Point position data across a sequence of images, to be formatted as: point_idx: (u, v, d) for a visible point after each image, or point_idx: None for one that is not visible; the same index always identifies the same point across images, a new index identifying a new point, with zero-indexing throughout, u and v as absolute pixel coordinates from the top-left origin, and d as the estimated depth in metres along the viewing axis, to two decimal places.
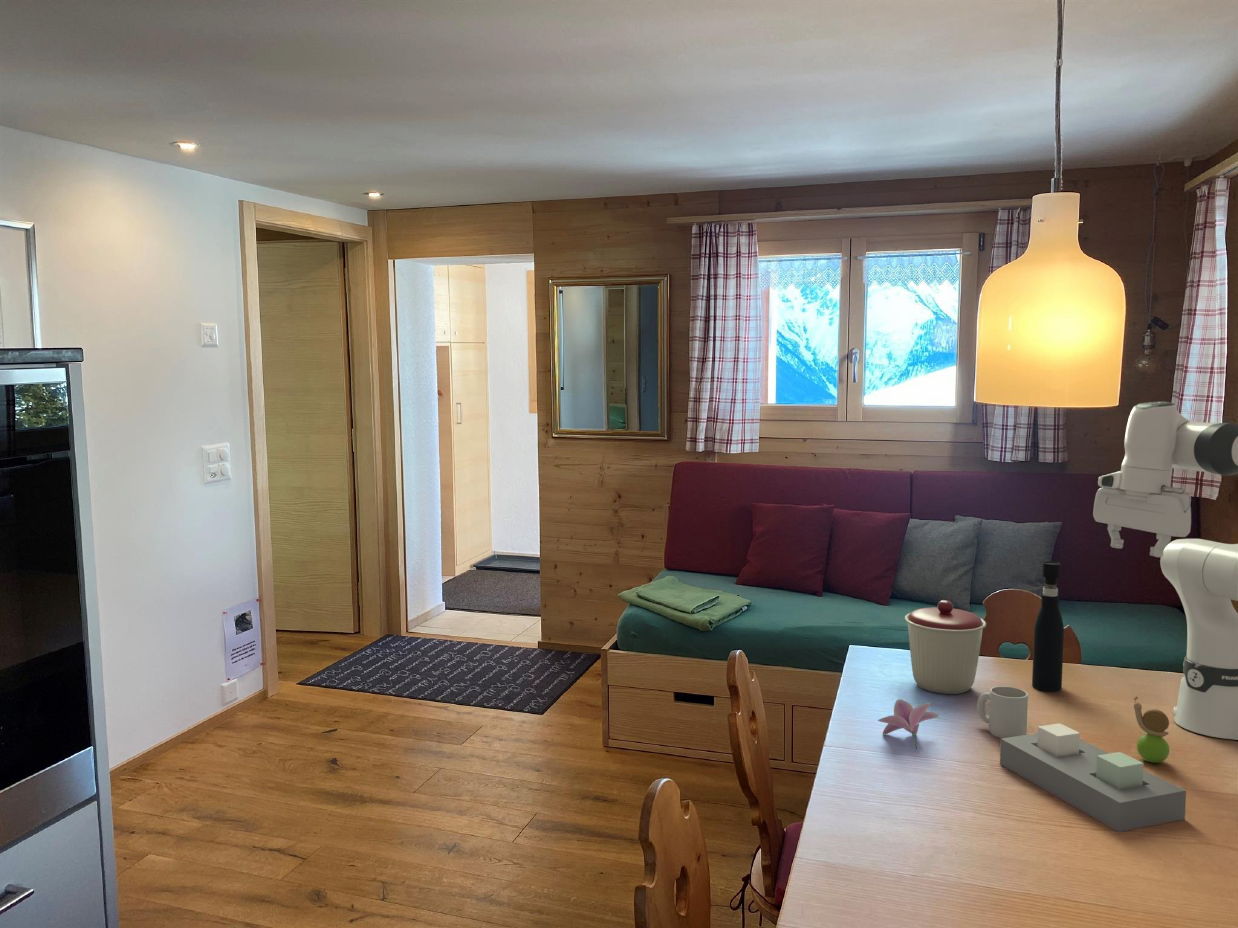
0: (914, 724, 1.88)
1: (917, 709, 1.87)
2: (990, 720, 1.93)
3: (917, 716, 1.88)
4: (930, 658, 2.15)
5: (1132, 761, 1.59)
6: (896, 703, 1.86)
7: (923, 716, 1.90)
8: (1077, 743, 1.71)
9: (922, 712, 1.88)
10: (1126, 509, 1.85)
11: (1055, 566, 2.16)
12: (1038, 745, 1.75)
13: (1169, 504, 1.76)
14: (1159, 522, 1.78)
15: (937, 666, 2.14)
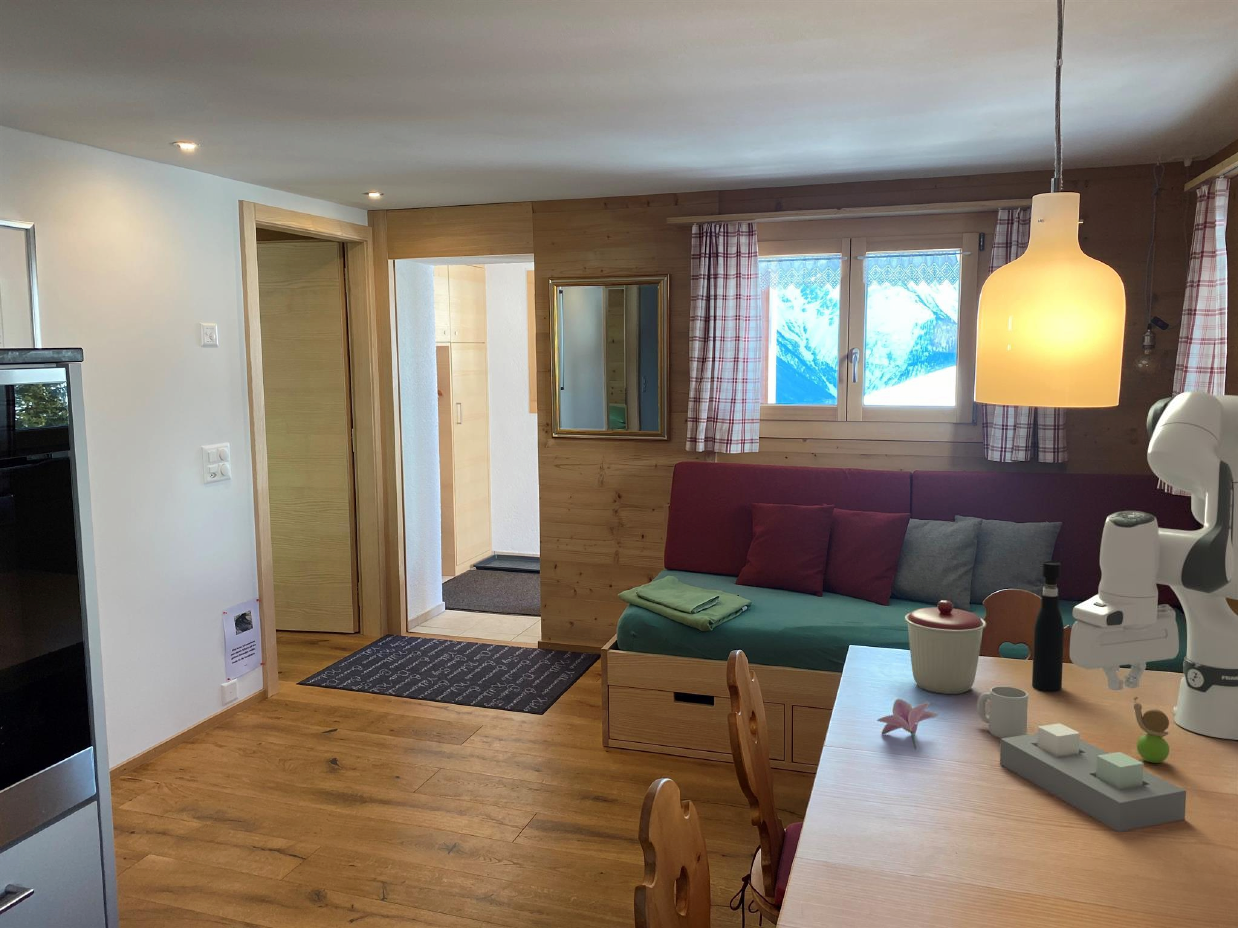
0: (913, 724, 1.88)
1: (916, 709, 1.87)
2: (990, 720, 1.93)
3: (916, 716, 1.88)
4: (930, 658, 2.15)
5: (1132, 761, 1.59)
6: (895, 703, 1.86)
7: (922, 716, 1.90)
8: (1077, 743, 1.71)
9: (921, 712, 1.88)
10: (1125, 645, 1.55)
11: (1055, 566, 2.16)
12: (1038, 745, 1.75)
13: (1171, 626, 1.58)
14: (1162, 648, 1.58)
15: (937, 666, 2.14)
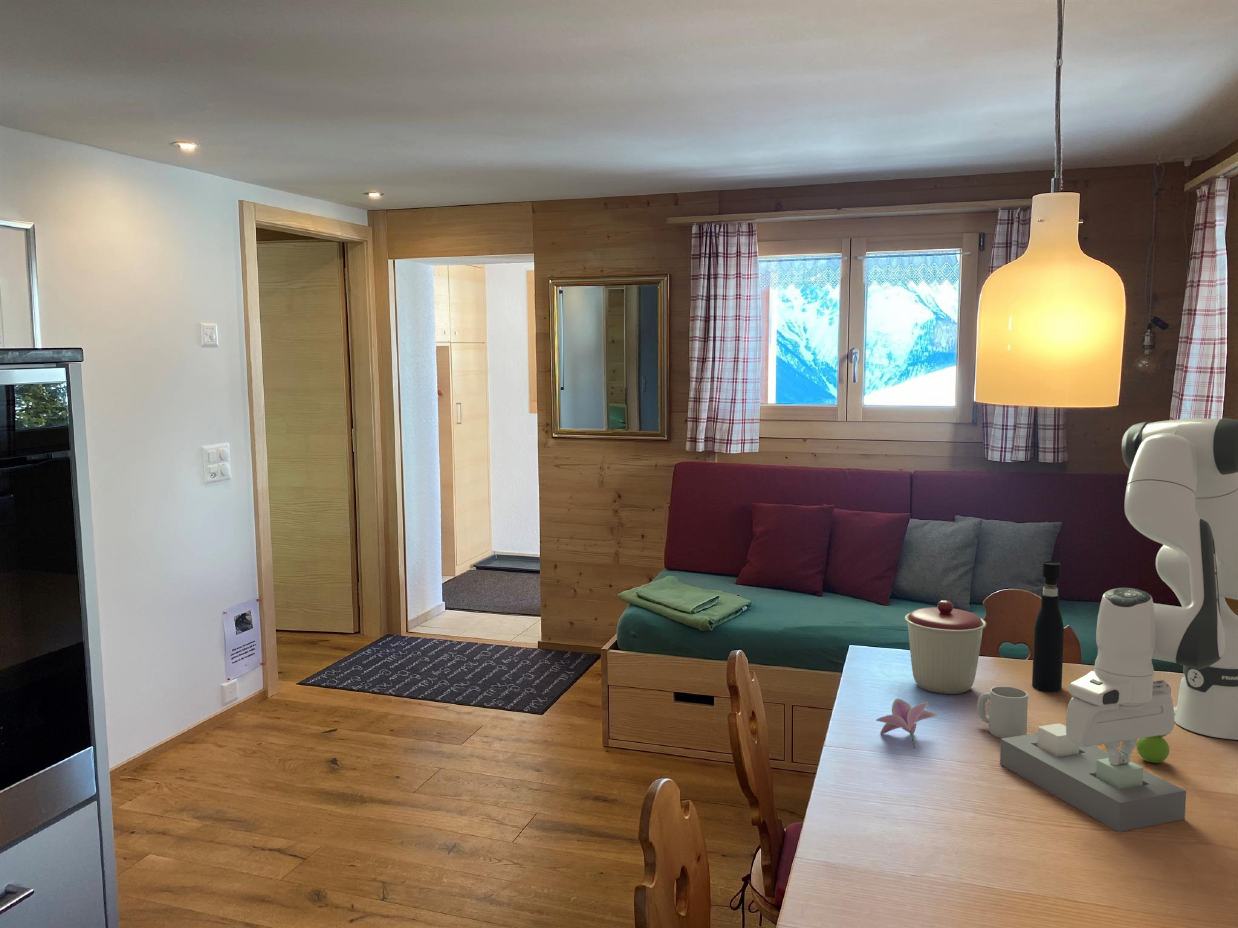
0: (912, 723, 1.88)
1: (915, 708, 1.87)
2: (990, 720, 1.93)
3: (915, 715, 1.88)
4: (930, 658, 2.15)
5: (1131, 765, 1.59)
6: (894, 703, 1.87)
7: (921, 716, 1.90)
8: None
9: (920, 712, 1.88)
10: (1121, 722, 1.57)
11: (1055, 566, 2.16)
12: (1038, 745, 1.75)
13: (1166, 702, 1.59)
14: (1157, 724, 1.59)
15: (937, 666, 2.14)
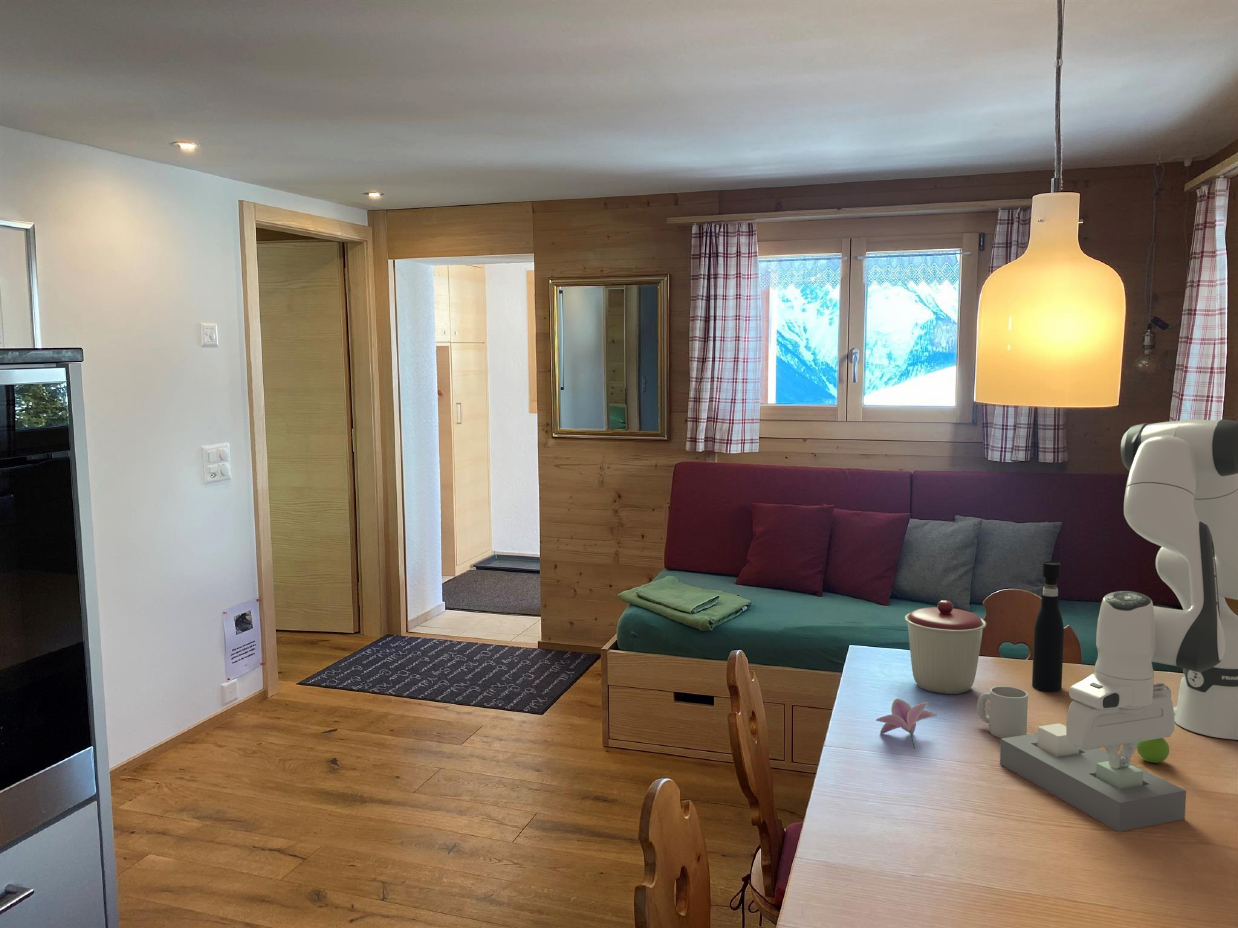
0: (912, 723, 1.88)
1: (914, 708, 1.88)
2: (990, 720, 1.93)
3: (915, 715, 1.88)
4: (930, 658, 2.15)
5: (1131, 768, 1.59)
6: (894, 702, 1.87)
7: (920, 716, 1.90)
8: None
9: (920, 712, 1.88)
10: (1121, 725, 1.57)
11: (1055, 566, 2.16)
12: (1038, 745, 1.75)
13: (1166, 705, 1.59)
14: (1158, 727, 1.59)
15: (937, 666, 2.14)
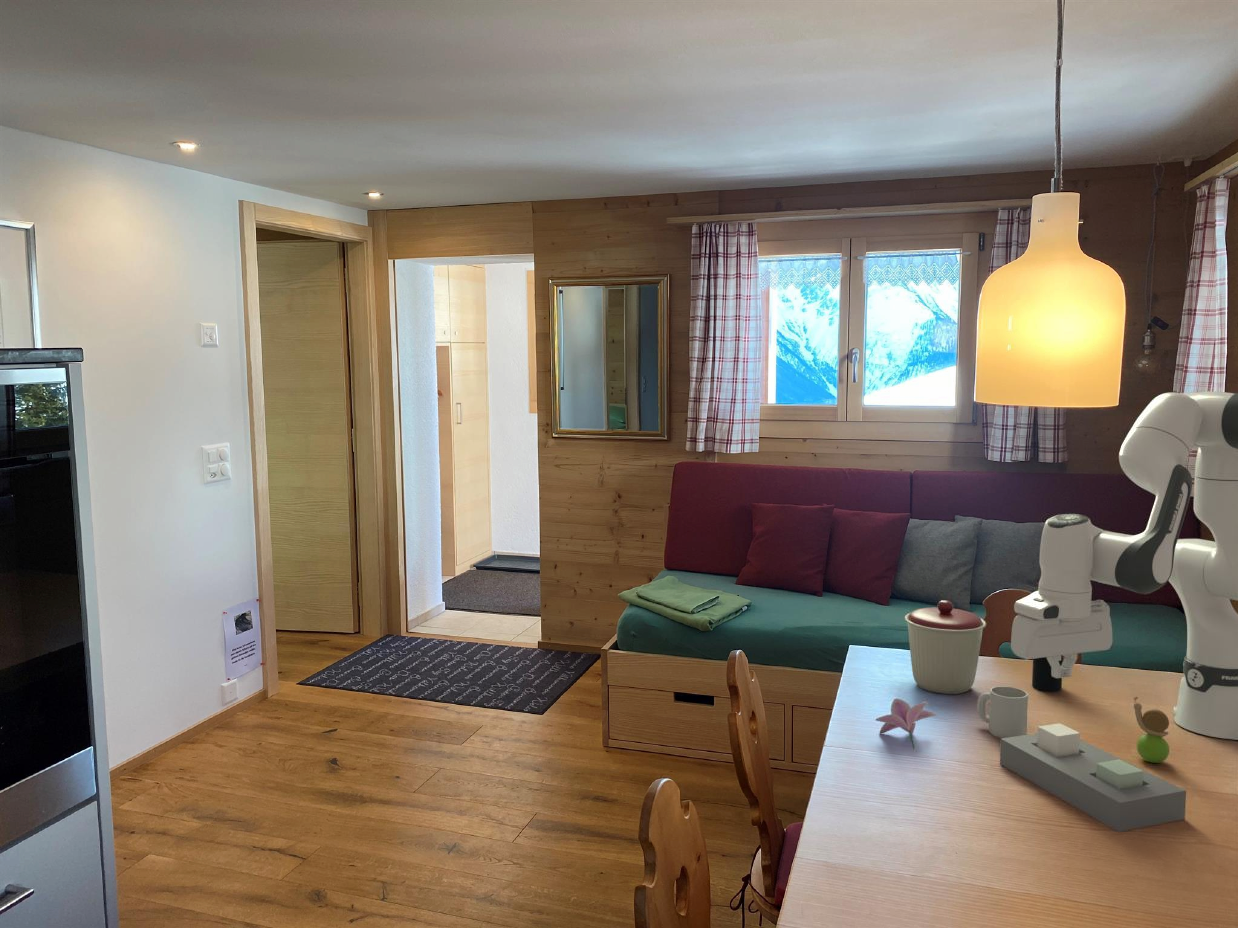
0: (911, 723, 1.88)
1: (914, 708, 1.88)
2: (990, 720, 1.93)
3: (914, 715, 1.88)
4: (930, 658, 2.15)
5: (1131, 768, 1.59)
6: (893, 702, 1.87)
7: (920, 715, 1.90)
8: (1077, 743, 1.71)
9: (919, 711, 1.89)
10: (1062, 637, 1.69)
11: None
12: (1038, 745, 1.75)
13: (1104, 620, 1.71)
14: (1096, 640, 1.71)
15: (937, 666, 2.14)
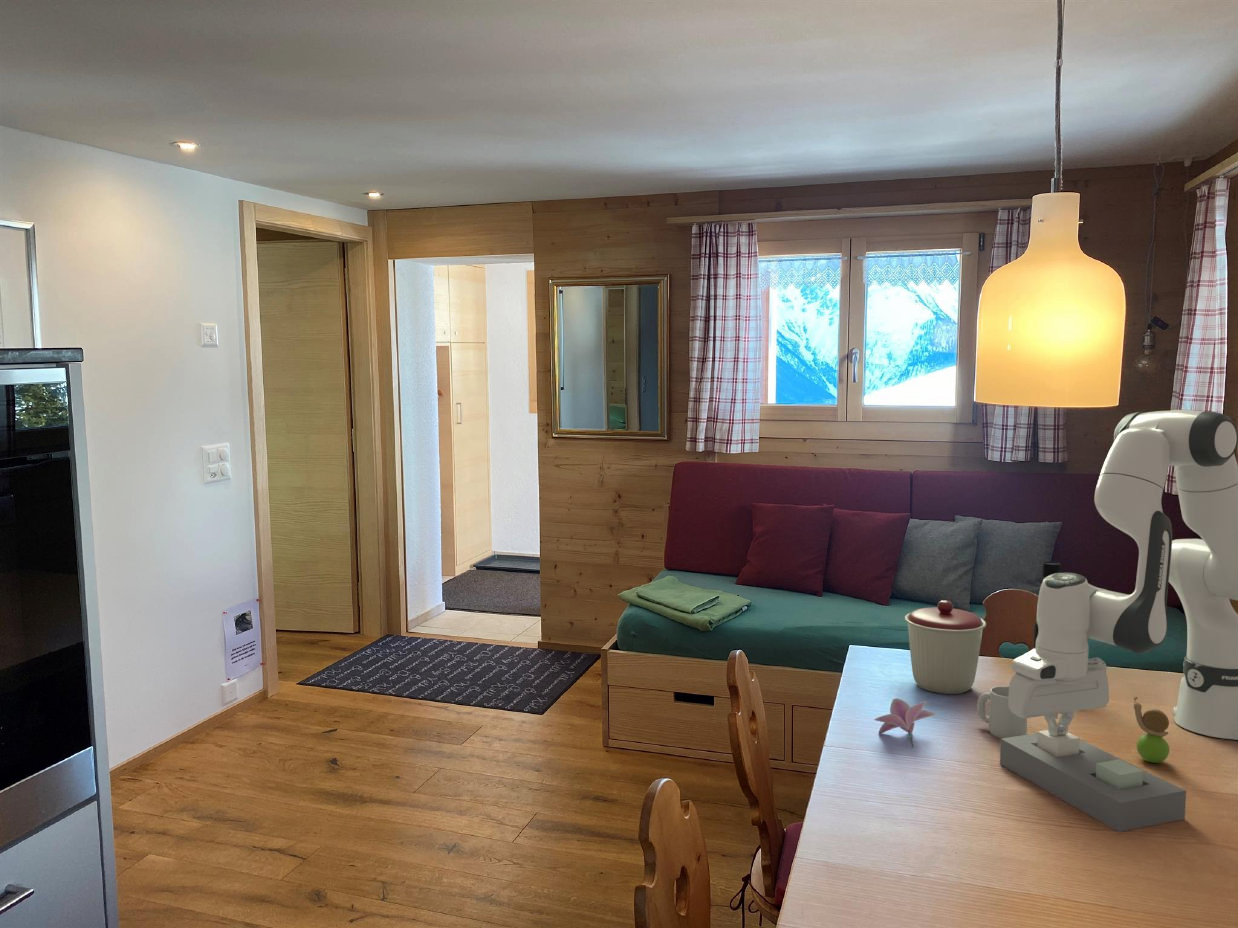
0: (910, 723, 1.88)
1: (913, 708, 1.88)
2: (990, 720, 1.93)
3: (913, 715, 1.88)
4: (930, 658, 2.15)
5: (1131, 768, 1.59)
6: (893, 702, 1.87)
7: (919, 715, 1.91)
8: (1077, 748, 1.71)
9: (918, 711, 1.89)
10: (1059, 696, 1.70)
11: (1055, 566, 2.16)
12: None
13: (1101, 678, 1.73)
14: (1093, 698, 1.72)
15: (937, 666, 2.14)
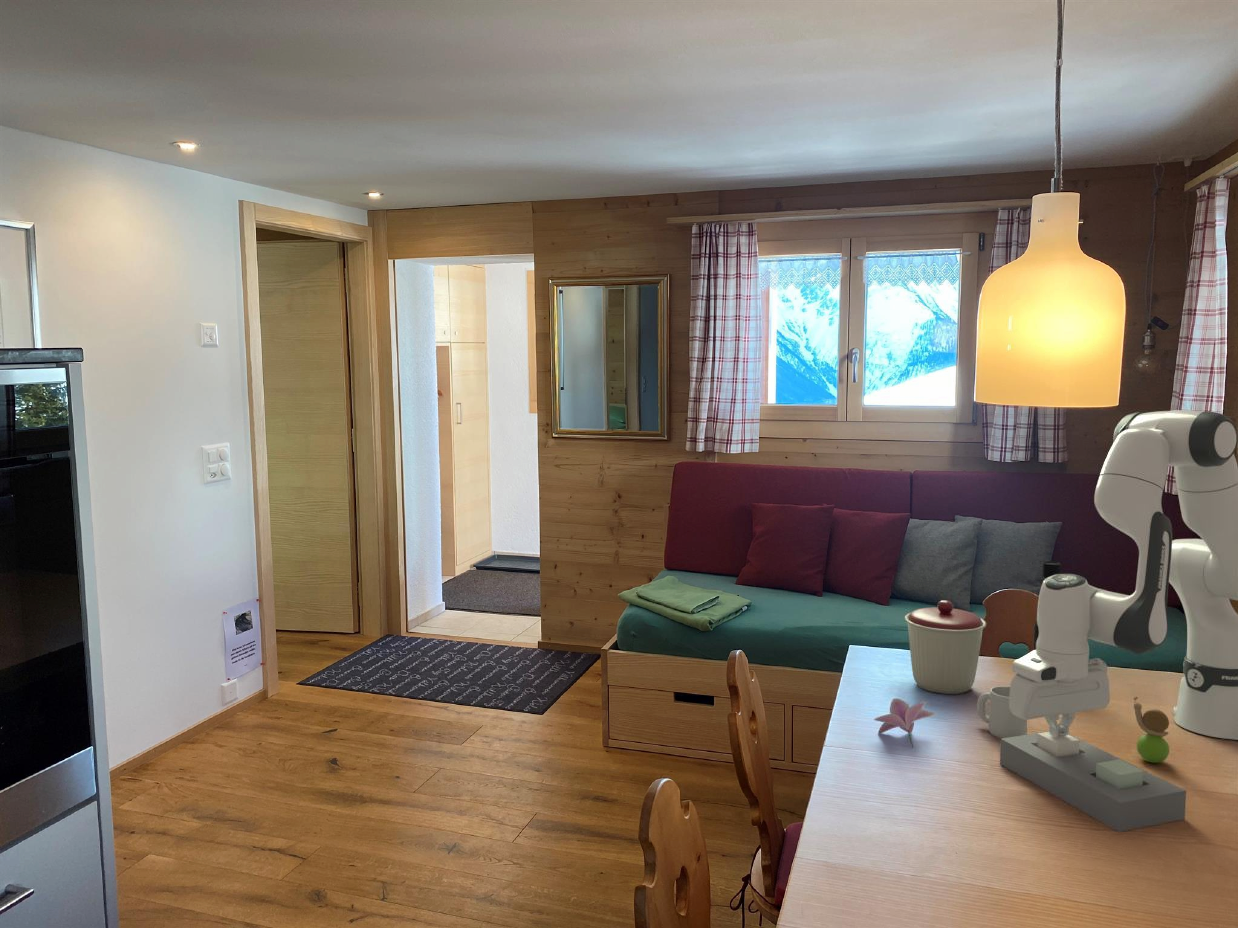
0: (910, 723, 1.88)
1: (913, 708, 1.88)
2: (990, 720, 1.93)
3: (913, 715, 1.89)
4: (930, 658, 2.15)
5: (1131, 768, 1.59)
6: (892, 702, 1.87)
7: (918, 715, 1.91)
8: (1077, 750, 1.71)
9: (918, 711, 1.89)
10: (1059, 697, 1.70)
11: (1055, 566, 2.16)
12: None
13: (1102, 678, 1.73)
14: (1094, 699, 1.72)
15: (937, 666, 2.14)
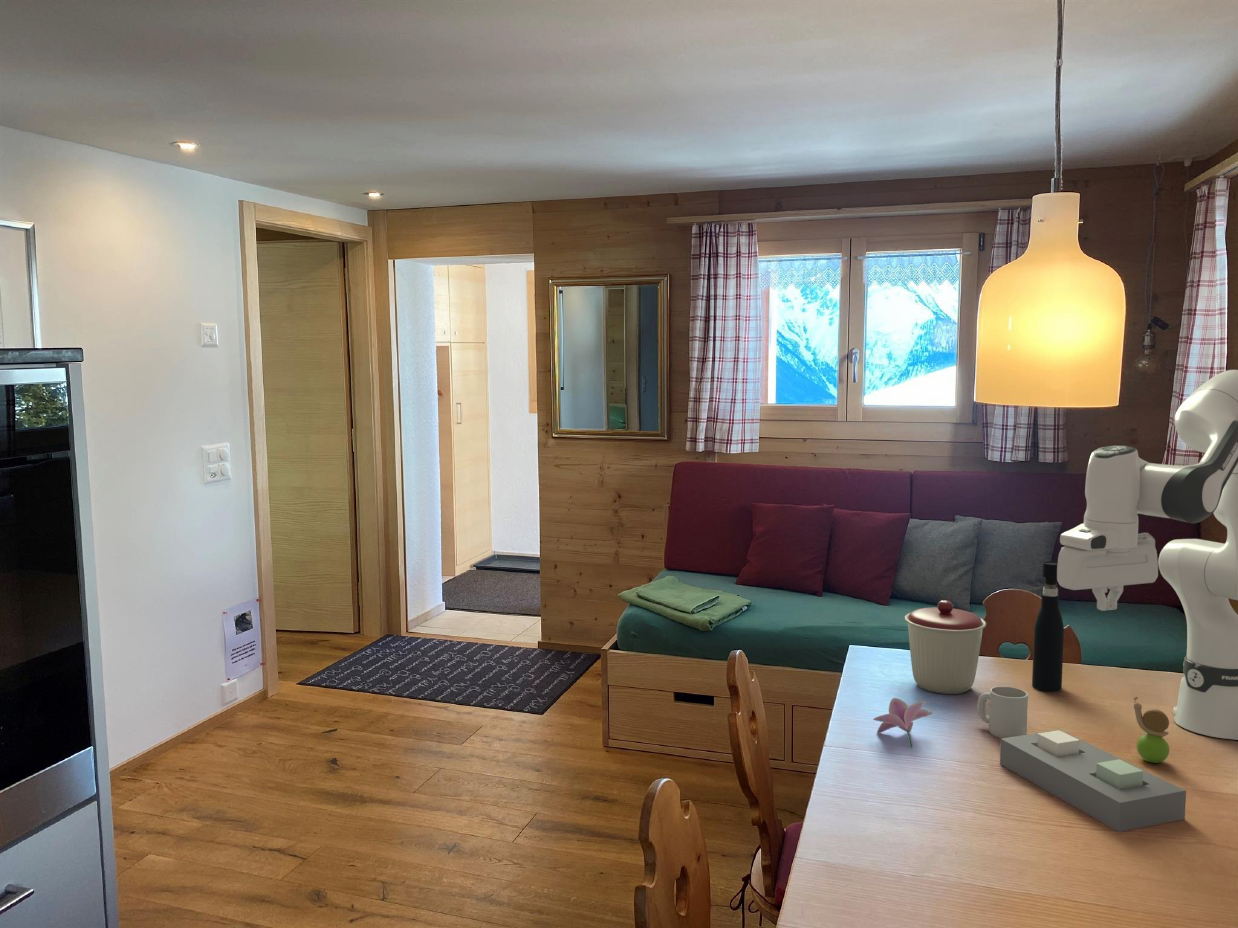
0: (909, 722, 1.89)
1: (911, 707, 1.88)
2: (990, 720, 1.93)
3: (912, 714, 1.89)
4: (930, 658, 2.15)
5: (1131, 768, 1.59)
6: (891, 702, 1.87)
7: (917, 714, 1.91)
8: (1077, 750, 1.71)
9: (917, 710, 1.89)
10: (1108, 568, 1.68)
11: (1055, 566, 2.16)
12: None
13: (1150, 552, 1.71)
14: (1142, 572, 1.71)
15: (937, 666, 2.14)
